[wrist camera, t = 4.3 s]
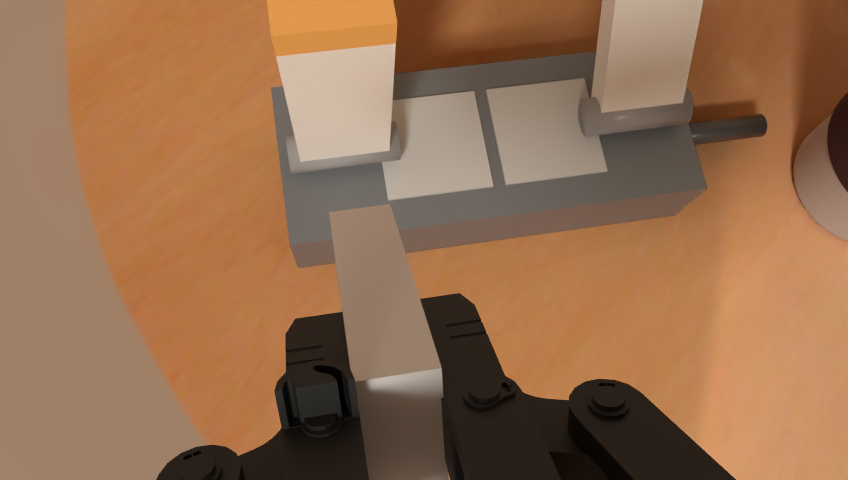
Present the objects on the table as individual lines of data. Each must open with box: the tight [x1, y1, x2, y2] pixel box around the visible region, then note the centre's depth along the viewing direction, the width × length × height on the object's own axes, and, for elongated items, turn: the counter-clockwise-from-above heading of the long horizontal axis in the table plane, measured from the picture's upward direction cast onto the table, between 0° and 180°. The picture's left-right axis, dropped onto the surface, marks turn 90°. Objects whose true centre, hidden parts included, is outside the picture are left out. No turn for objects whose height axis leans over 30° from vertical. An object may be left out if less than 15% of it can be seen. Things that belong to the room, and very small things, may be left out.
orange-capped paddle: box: [267, 0, 401, 174], centre depth 29 cm, size 5×2×12 cm, turn 99°
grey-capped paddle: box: [578, 0, 703, 137], centre depth 32 cm, size 5×2×12 cm
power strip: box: [271, 51, 767, 268], centre depth 38 cm, size 26×8×4 cm, turn 99°
